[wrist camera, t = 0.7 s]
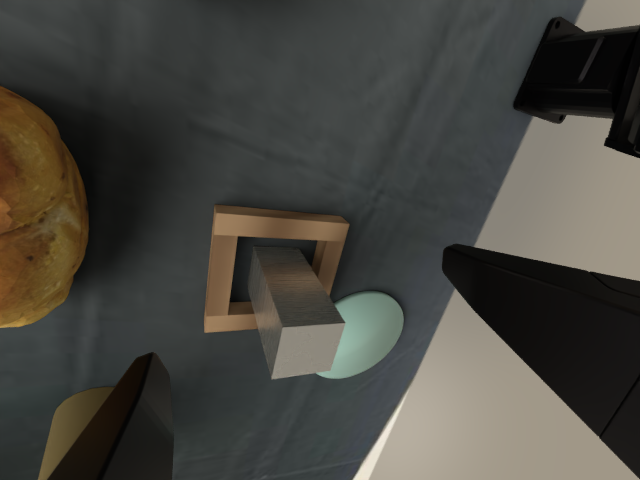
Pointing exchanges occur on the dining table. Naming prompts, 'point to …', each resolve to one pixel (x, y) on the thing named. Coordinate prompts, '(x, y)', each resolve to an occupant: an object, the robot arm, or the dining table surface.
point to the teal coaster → (365, 332)
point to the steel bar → (292, 313)
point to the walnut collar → (269, 225)
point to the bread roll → (37, 213)
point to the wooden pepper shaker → (70, 425)
